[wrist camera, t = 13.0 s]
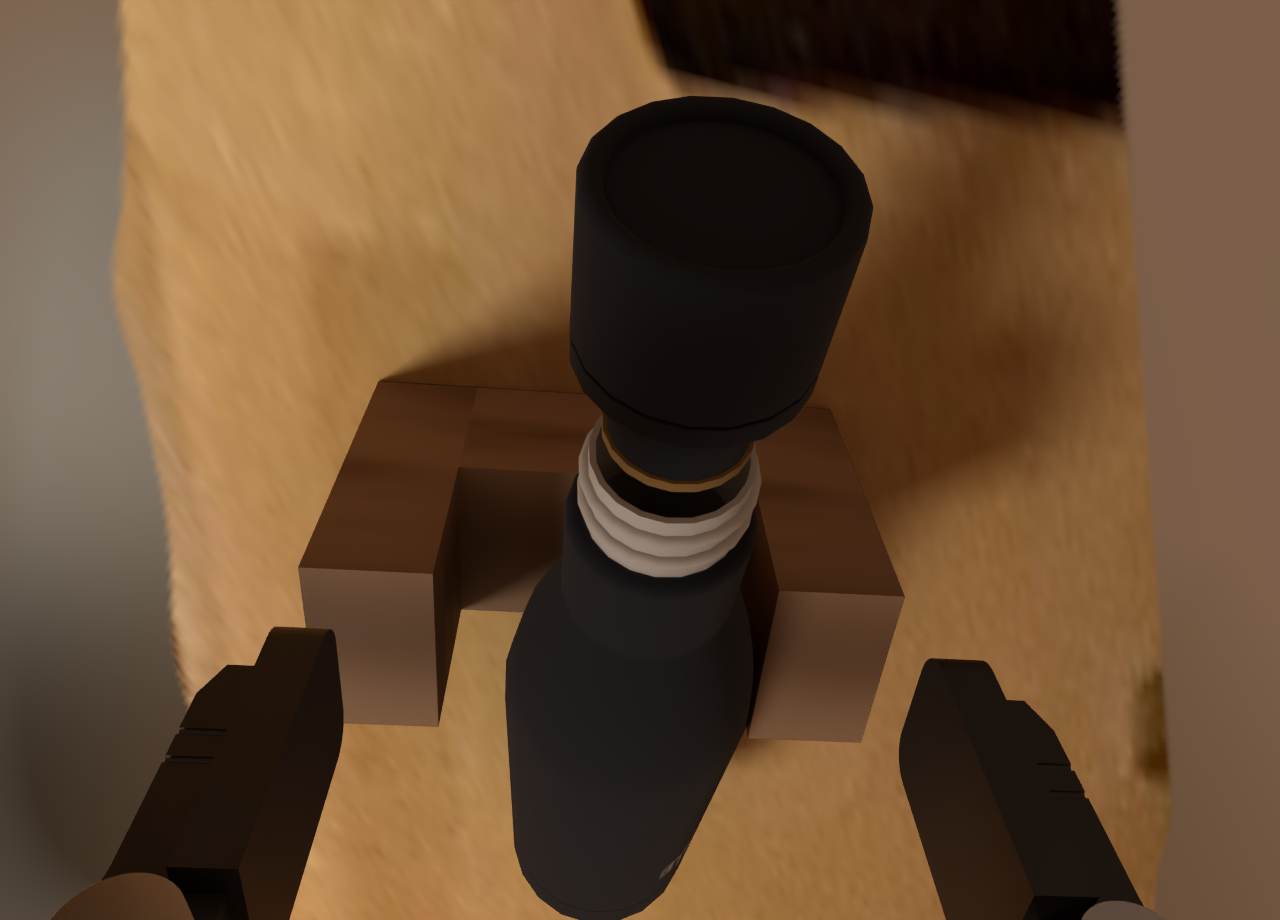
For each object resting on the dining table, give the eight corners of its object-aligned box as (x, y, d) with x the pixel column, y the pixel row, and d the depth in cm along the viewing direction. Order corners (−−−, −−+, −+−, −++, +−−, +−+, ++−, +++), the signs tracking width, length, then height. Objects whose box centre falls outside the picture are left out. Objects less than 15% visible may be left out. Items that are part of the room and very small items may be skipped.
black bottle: (529, 737, 38) (521, 13, 14) (689, 759, 38) (951, 73, 14) (499, 911, 34) (417, 326, 10) (676, 934, 35) (1005, 405, 10)
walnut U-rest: (802, 536, 33) (860, 742, 25) (387, 515, 32) (318, 722, 24) (830, 409, 30) (904, 596, 23) (378, 381, 29) (297, 567, 22)
